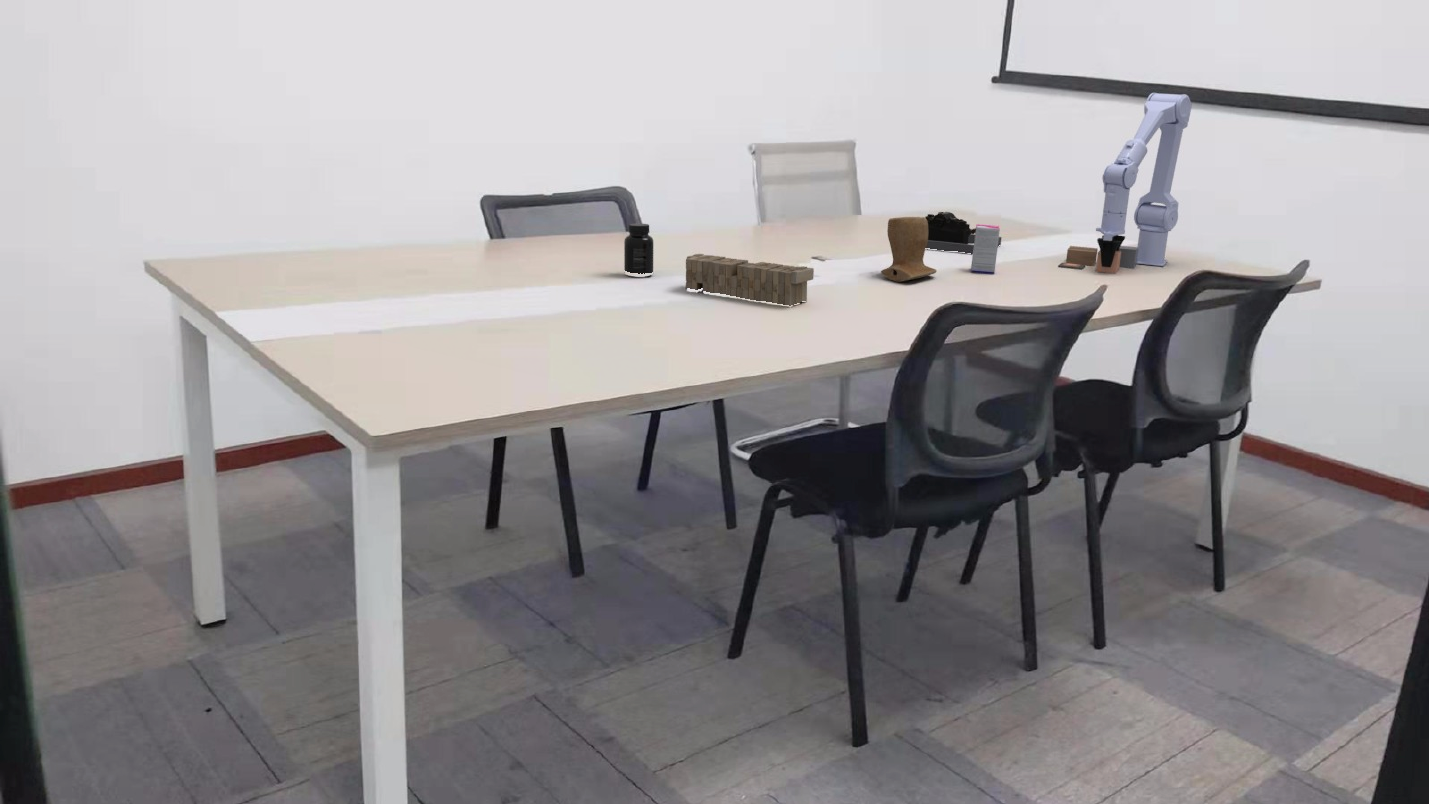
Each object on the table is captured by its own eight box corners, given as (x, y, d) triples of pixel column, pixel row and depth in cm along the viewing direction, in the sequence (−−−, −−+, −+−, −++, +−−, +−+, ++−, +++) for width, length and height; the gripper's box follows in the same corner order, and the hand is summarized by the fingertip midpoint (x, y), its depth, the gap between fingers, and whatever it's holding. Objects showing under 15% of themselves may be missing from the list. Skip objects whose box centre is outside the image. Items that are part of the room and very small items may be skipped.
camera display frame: (919, 237, 344) (920, 229, 344) (1000, 245, 334) (1001, 237, 334) (898, 246, 327) (898, 237, 327) (983, 255, 317) (984, 246, 316)
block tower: (680, 295, 260) (795, 309, 245) (679, 258, 258) (796, 269, 243) (699, 290, 267) (813, 303, 252) (699, 253, 264) (814, 264, 250)
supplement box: (995, 274, 291) (999, 228, 287) (970, 272, 292) (975, 227, 289) (994, 270, 296) (999, 225, 293) (970, 268, 297) (975, 223, 294)
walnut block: (1068, 260, 315) (1070, 245, 314) (1095, 263, 313) (1097, 248, 312) (1065, 264, 309) (1067, 249, 308) (1093, 267, 307) (1095, 252, 306)
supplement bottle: (658, 274, 277) (659, 224, 274) (644, 279, 271) (645, 227, 268) (632, 271, 280) (633, 221, 276) (618, 276, 274) (619, 224, 270)
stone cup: (899, 270, 292) (904, 210, 288) (942, 277, 285) (947, 215, 280) (867, 278, 281) (871, 215, 276) (910, 285, 274) (915, 221, 269)
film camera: (985, 248, 331) (989, 212, 328) (970, 253, 320) (973, 217, 318) (926, 241, 339) (929, 206, 337) (909, 246, 329) (912, 210, 326)
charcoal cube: (1116, 264, 311) (1119, 245, 310) (1136, 266, 309) (1138, 247, 308) (1113, 267, 307) (1116, 248, 306) (1133, 269, 305) (1136, 250, 303)
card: (1061, 264, 308) (1061, 261, 308) (1085, 266, 305) (1085, 264, 305) (1057, 267, 304) (1058, 264, 303) (1081, 269, 301) (1081, 267, 301)
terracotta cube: (1098, 268, 304) (1101, 249, 303) (1118, 270, 302) (1121, 251, 300) (1095, 271, 300) (1098, 252, 298) (1115, 273, 298) (1118, 254, 296)
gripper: (1103, 207, 304) (1096, 259, 308) (1093, 213, 292) (1087, 267, 296) (1131, 210, 301) (1124, 262, 305) (1123, 216, 289) (1116, 270, 293)
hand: (1107, 265), depth 300 cm, fingers closed on terracotta cube, 5 cm apart
